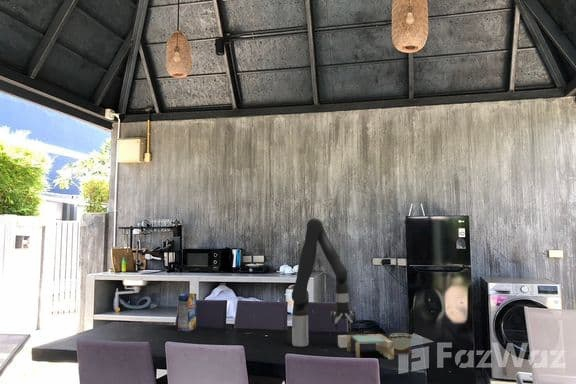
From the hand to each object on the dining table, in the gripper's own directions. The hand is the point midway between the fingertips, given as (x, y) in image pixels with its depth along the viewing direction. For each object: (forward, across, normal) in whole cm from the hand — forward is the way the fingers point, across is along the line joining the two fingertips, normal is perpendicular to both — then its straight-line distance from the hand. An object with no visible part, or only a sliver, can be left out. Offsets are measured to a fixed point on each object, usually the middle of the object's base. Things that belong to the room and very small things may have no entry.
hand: (343, 329), depth 249 cm
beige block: (+10, 0, 0) cm, 10 cm away
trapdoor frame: (+10, +8, -20) cm, 24 cm away
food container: (+10, +26, -18) cm, 34 cm away
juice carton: (+7, -97, +62) cm, 115 cm away
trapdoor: (+2, +9, -20) cm, 22 cm away
